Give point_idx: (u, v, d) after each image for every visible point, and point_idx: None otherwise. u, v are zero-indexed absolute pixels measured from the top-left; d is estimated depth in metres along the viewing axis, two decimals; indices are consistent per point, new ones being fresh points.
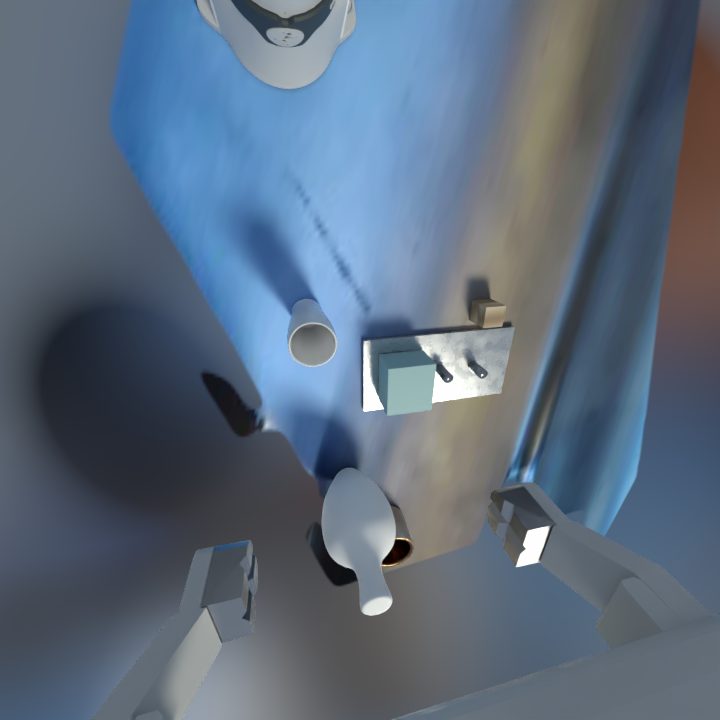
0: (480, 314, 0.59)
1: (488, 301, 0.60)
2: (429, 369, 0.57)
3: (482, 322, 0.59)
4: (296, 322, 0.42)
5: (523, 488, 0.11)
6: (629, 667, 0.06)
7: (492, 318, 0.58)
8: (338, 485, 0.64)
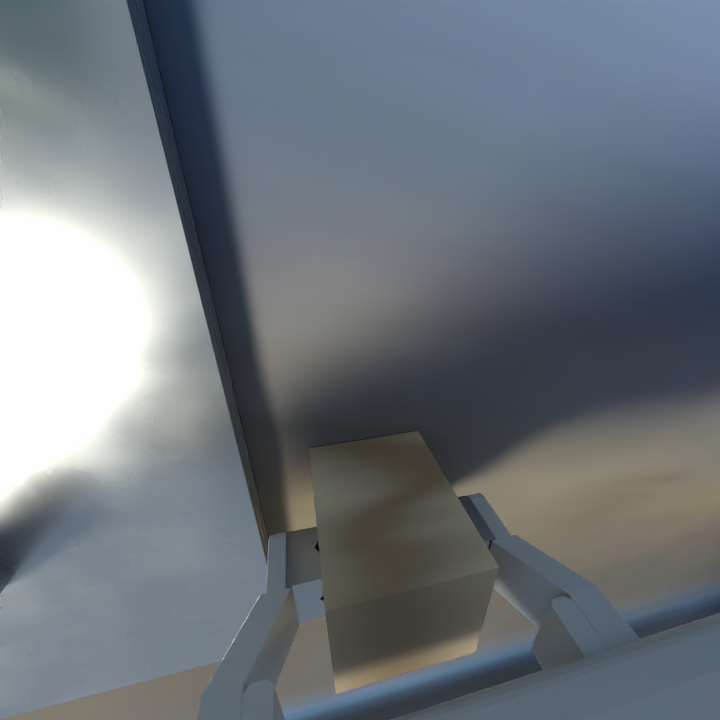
0: (401, 520, 0.08)
1: None
2: None
3: (360, 573, 0.07)
4: None
5: (468, 499, 0.10)
6: (629, 667, 0.06)
7: (405, 629, 0.08)
8: None
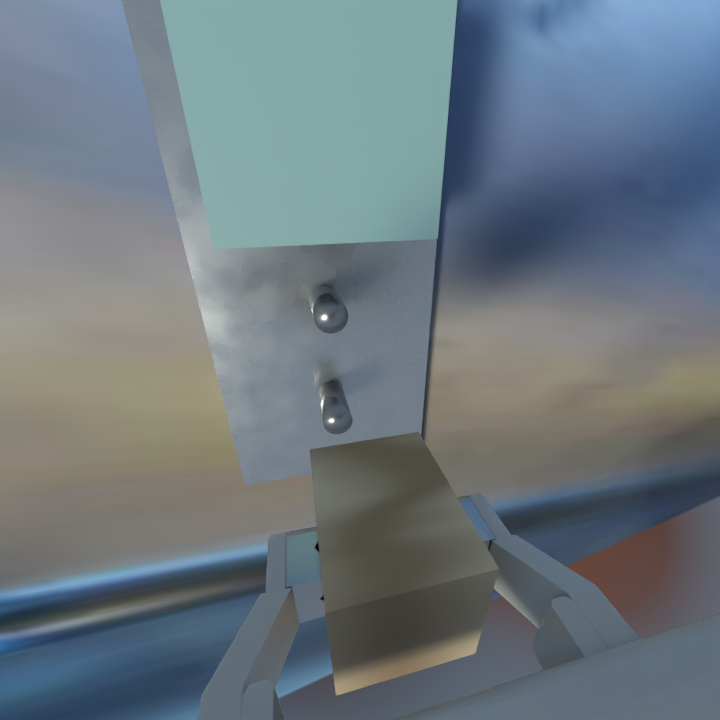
0: (401, 521, 0.08)
1: None
2: (420, 210, 0.14)
3: (360, 575, 0.07)
4: None
5: (468, 499, 0.10)
6: (629, 667, 0.06)
7: (405, 631, 0.08)
8: None
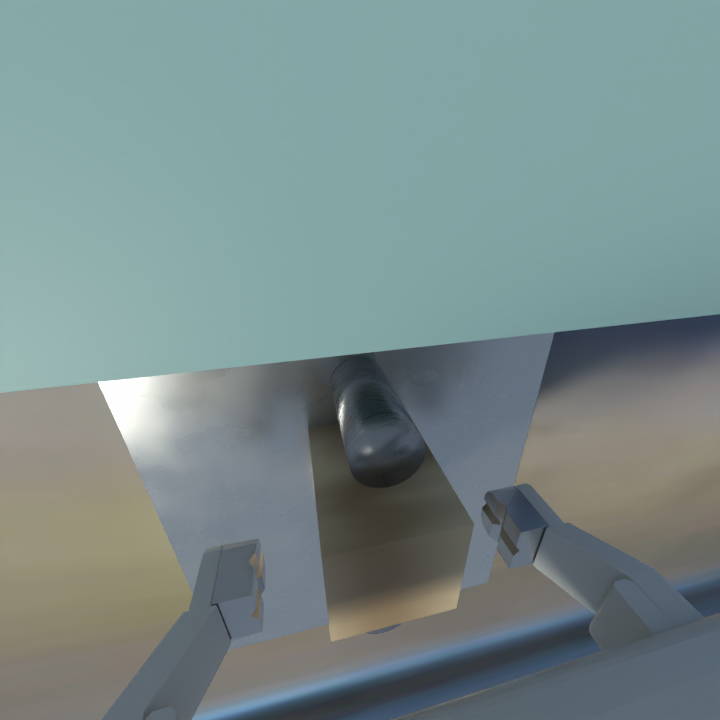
0: (389, 487, 0.09)
1: None
2: None
3: (352, 528, 0.08)
4: None
5: (516, 489, 0.10)
6: (629, 667, 0.06)
7: (392, 580, 0.09)
8: None
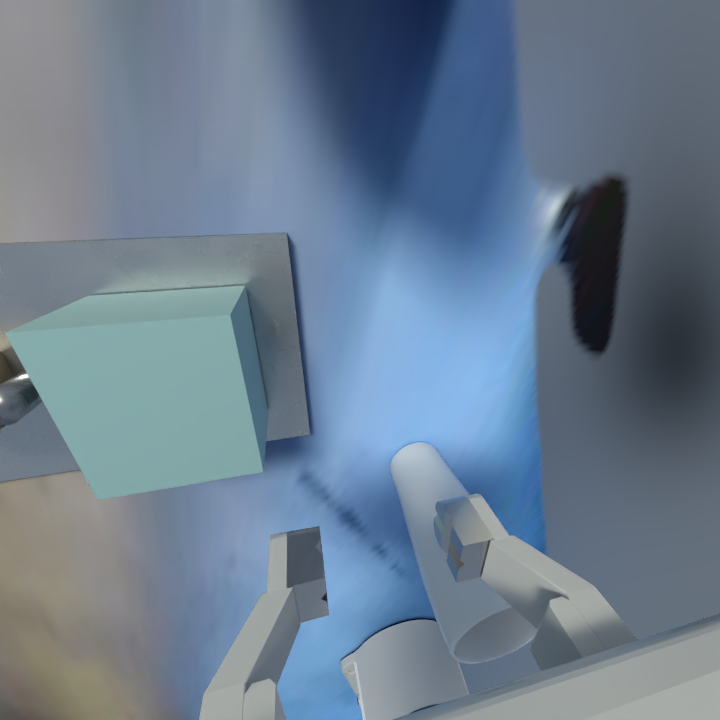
0: None
1: None
2: (116, 483, 0.17)
3: None
4: (502, 618, 0.22)
5: (466, 499, 0.10)
6: (629, 666, 0.06)
7: None
8: None
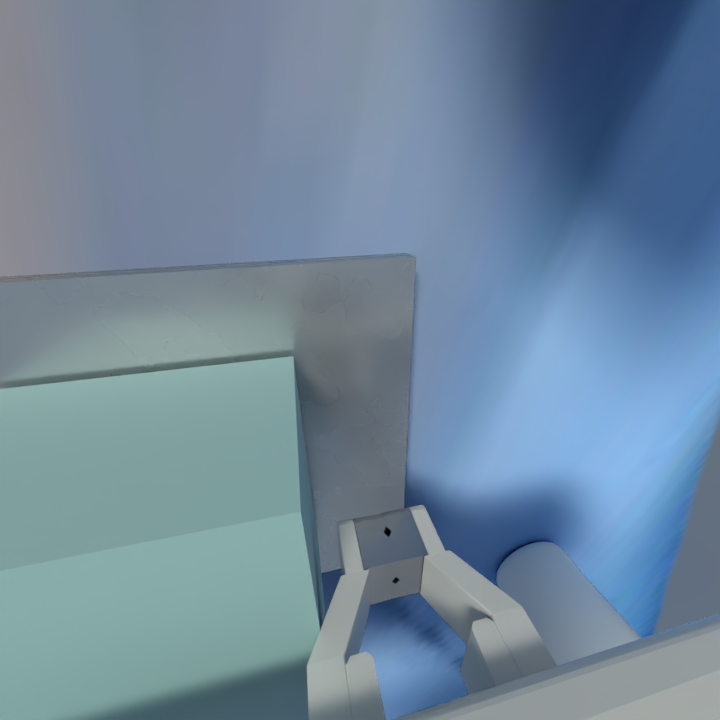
0: None
1: None
2: None
3: None
4: None
5: (408, 511, 0.10)
6: (629, 667, 0.06)
7: None
8: None
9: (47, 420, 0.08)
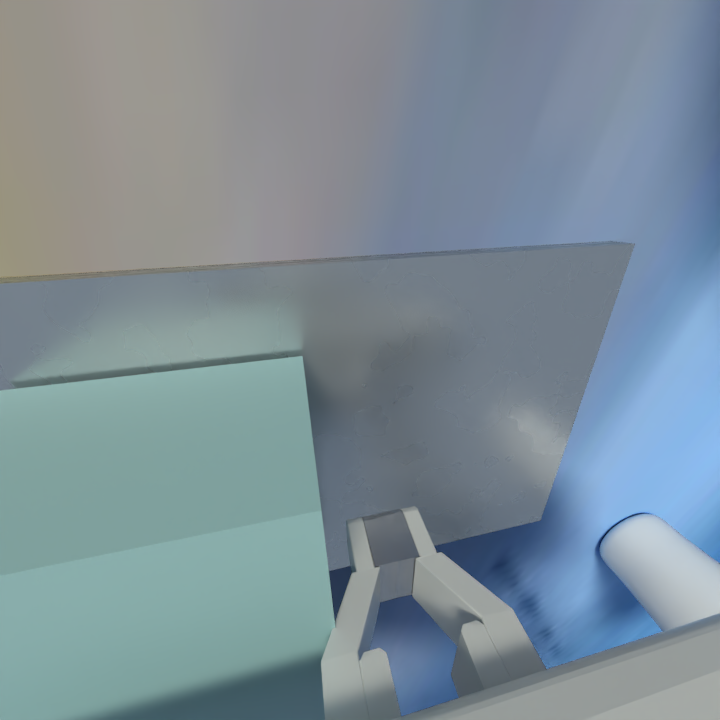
0: None
1: None
2: None
3: None
4: None
5: (401, 513, 0.10)
6: (629, 667, 0.06)
7: None
8: None
9: (61, 420, 0.08)
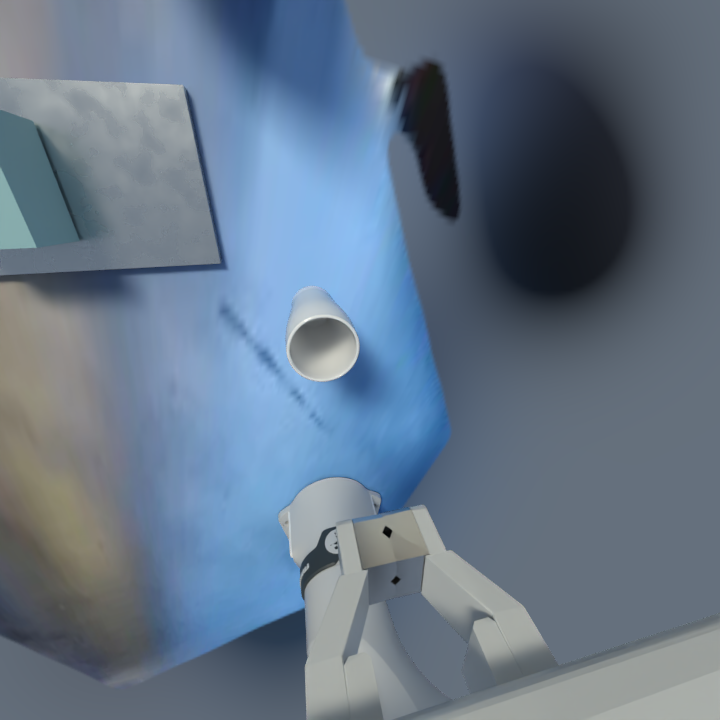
0: None
1: None
2: None
3: None
4: (342, 366, 0.31)
5: (409, 511, 0.10)
6: (629, 667, 0.06)
7: None
8: None
9: None
